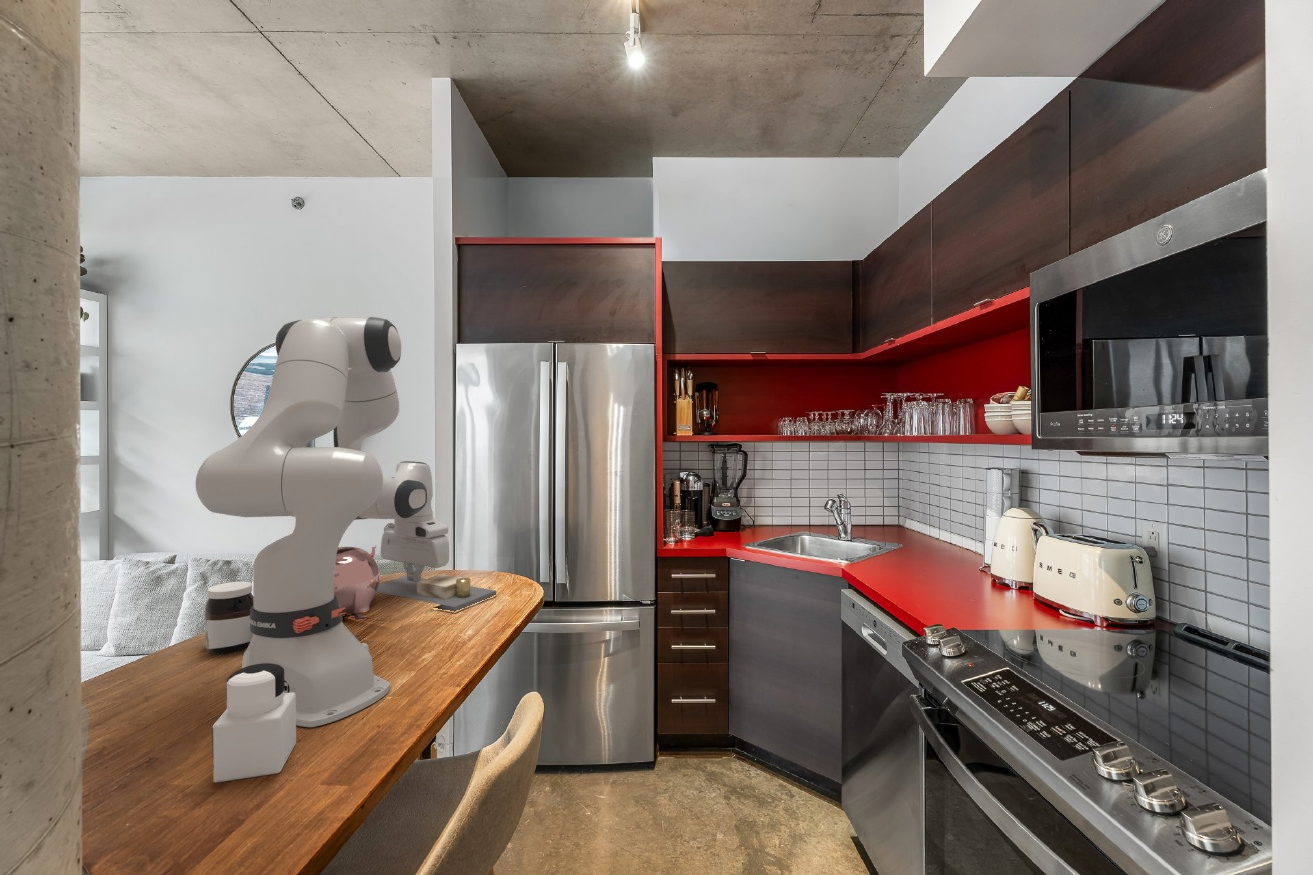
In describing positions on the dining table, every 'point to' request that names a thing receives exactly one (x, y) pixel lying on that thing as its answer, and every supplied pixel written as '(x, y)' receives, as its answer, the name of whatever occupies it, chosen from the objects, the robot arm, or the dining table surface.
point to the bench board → (409, 590)
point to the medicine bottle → (254, 724)
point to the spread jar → (228, 617)
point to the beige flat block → (438, 586)
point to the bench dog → (463, 587)
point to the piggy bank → (355, 580)
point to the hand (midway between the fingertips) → (413, 580)
